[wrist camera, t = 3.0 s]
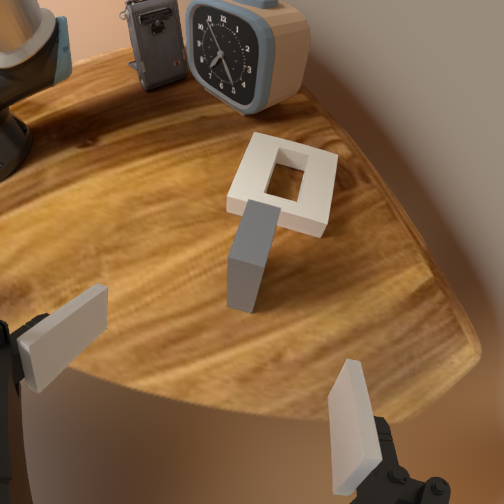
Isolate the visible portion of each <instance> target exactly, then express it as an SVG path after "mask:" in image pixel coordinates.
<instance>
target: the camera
mask: <svg viewBox="0 0 504 504" xmlns="http://www.w3.org/2000/svg"><path fill="white" fill-rule="evenodd" d="M137 1H138V2H137ZM128 2H129V3H128ZM125 4H127V6H126V9H125V11H126V13H125V11H124V12H121V13H124V16H125V19H127V22H128V27H129V33H130V39H131V44H132V48H133V52H134V57H135V61H133V62H130V63H128V65H129V66H131V67H133V68H134V69H136V70H137V71H138V75H139V79H140V83H141V86H142V88H143V90H144V91H149V90H152V89H154V88H157V87H160V86H162V85H165V84H168V83H171V82H174V81H177V80H180V79H183V78H186V77H187V75H188V70H187V64H186V57H185V50H184V44H183V37H182V30H181V23H180V16H179V9H178V2H177V0H142V1H139V0H128V1H126V2H125ZM121 13H120V14H121ZM120 14H119V18H120V19H122V18H121V17H120ZM125 19H122V20H125Z"/></svg>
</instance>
